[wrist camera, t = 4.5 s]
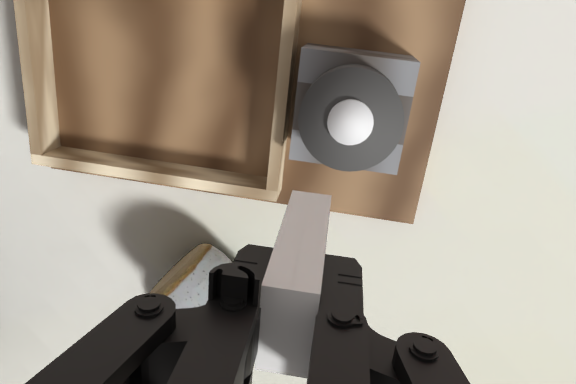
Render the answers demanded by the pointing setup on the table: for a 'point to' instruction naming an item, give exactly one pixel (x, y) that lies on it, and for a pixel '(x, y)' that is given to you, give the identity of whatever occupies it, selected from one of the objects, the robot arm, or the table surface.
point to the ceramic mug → (191, 277)
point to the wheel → (351, 118)
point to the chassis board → (228, 91)
